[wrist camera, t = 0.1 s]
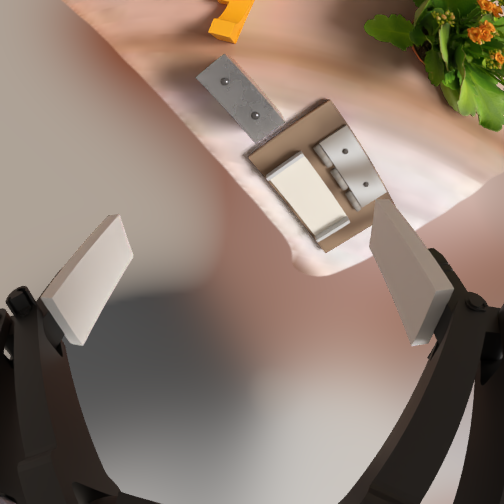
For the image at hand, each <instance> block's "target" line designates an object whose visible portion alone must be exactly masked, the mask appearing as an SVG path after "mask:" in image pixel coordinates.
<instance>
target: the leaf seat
mask: <svg viewBox="0 0 504 504" xmlns="http://www.w3.org/2000/svg"><path fill="white" fill-rule="evenodd" d="M266 179H267V180H268V181H269V180H270V181H271V182H272V183H273V184H274V185H275V187H276V188H277V189H278V190H279V192H280V193H281V194H282V195H283V196H284V198H285V199H286V200H287V201H288V203H289V204H290V205H291V206H292V208H293V209H294V210H295V211H296V213H297V214H298V215H299V216H300V218H301V219H302V220H303V221H304V223H305V224H306V225H307V226H308V228H309V229H310V230H311V232H312V233H313V234H314V235H315V238H316V241H317V242H320V241H321V240H323V239H325V238H326V237H328V236H330V235H331V234H333V233H334V232H336V231H338V230H339V229H341V228H343V227H344V226H346V225H347V224H349V223H350V221H349V218H348V217H347V215H346V214H345V212H344V211H343V209H342V208H341V206H340V205H339V203H338V202H337V200H336V199H335V197H334V196H333V195H332V193H331V192H330V190H329V189H328V187H327V186H326V185H325V183H324V182H323V180H322V179H321V178H320V176H319V175H318V173H317V172H316V171H315V169H314V168H313V167H312V165H311V164H310V162H309V161H308V160H307V158H306V157H305V156H304V154H303V153H302V152H301V151H300V152H298V153H297V154H295V155H294V156H292V157H291V158H289V159H288V160H287V161H285V162H284V163H282V164H281V165H279V166H278V167H277V168H275V169H274V170H272V171H271V172H270V173H268V174H267V175H266Z"/></svg>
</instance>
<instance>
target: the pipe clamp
mask: <svg viewBox="0 0 504 504" xmlns="http://www.w3.org/2000/svg"><path fill="white" fill-rule="evenodd" d="M217 1H218V2H219V3H222V4H226V5H227V7H226V9H225V10H224V12H223V13H222V15H221V16H220V17H219V18H217V19H216V18H214V19H213V21H212V24H211V26H210V29H209V31H208V32H209V33H210V34H211V35H213V36H214V37H215V38H217V39H219V40H223V41H227V42H231V43H234V44H236V42H237V39H238V37H239V35H240V32H241V30H242V28H243V25H244V23H245V21H246V18H247V16H248V14H249V12H250V9H251V7H252V5H253V3H254V1H255V0H217Z"/></svg>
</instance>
